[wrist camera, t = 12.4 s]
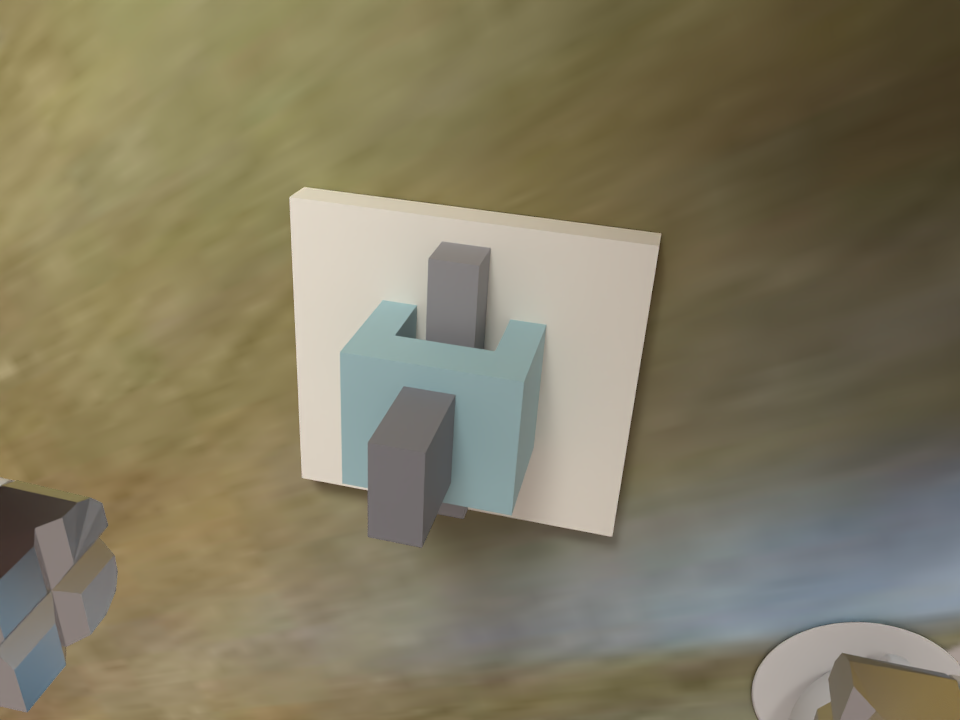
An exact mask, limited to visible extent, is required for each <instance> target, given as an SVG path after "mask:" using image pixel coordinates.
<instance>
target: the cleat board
mask: <svg viewBox="0 0 960 720" xmlns="http://www.w3.org/2000/svg"><path fill="white" fill-rule="evenodd" d="M289 198H290V221H291V243H292V266H293V288H294V310H295V333H296V355H297V378H298V400H299V422H300V445H301V467H302V478H306V479H311V480H316V481H321V482H327V483H332V484H337V485H342V486H348V487H353V488H358V489H363V490H368V488H364V487H359V486H353V485H348V484H343V483H342V442H341V388H340V351H341V350H342V349H343V348H344V346H345V345H346V344H347V343H348V342H349V340H350V339H351V338H352V337H353V336H354V334H355V333H356V332H357V331H358V329H359V328H360V327H361V326H362V325H363V323H364V322H365V321H366V320H367V319H368V317H369V316H370V315H371V314H372V313H373V311H374V310H375V309H376V308H377V307H378V305H379V304H380V303H381V302H382V300H385V301H392V302H398V303H405V304H412V305H417V322H416V339H420V340H427V341H433V342H439V343H446V344H452V345H458V346H465V347H471V348H477V349H484V350H490V351H495V350H496V348H497V346H498V344H499V342H500V340H501V338H502V336H503V334H504V332H505V330H506V327H507V325H508V323H509V321H510V319H511V320H518V321H524V322H531V323H538V324H544V325H546V333H545V343H544V353H543V362H542V372H541V382H540V391H539V401H538V411H537V420H536V430H535V440H534V448H533V451H532V454H531V457H530V460H529V464H528V467H527V470H526V473H525V476H524V479H523V482H522V485H521V488H520V491H519V494H518V497H517V501H516V504H515V507H514V510H513V513H512V516H511V515H506V514H501V513H495V512H490V511H485V510H480V509H474V508H469V507H464V506H459V505H453V504H448V503H443V502H442V504H441V506H440V509H439V511H438V513H437V514H440V515H445V516H450V517H455V518H461V519H464V517H465V515H466V512H467V510H474V511H479V512H484V513H489V514H495V515H500V516H505V517H510V518H516V519H521V520H526V521H531V522H537V523H542V524H547V525H552V526H558V527H563V528H568V529H574V530H579V531H584V532H589V533H595V534H600V535H605V536H610V537H612V535H613V529H614V523H615V516H616V510H617V504H618V498H619V492H620V486H621V480H622V473H623V467H624V461H625V455H626V449H627V443H628V436H629V430H630V424H631V418H632V412H633V406H634V399H635V393H636V387H637V381H638V375H639V369H640V363H641V356H642V350H643V344H644V338H645V332H646V326H647V319H648V313H649V307H650V301H651V295H652V289H653V282H654V276H655V270H656V264H657V258H658V252H659V245H660V239H661V233H654V232H647V231H639V230H631V229H624V228H616V227H608V226H601V225H593V224H585V223H577V222H570V221H562V220H554V219H547V218H539V217H531V216H524V215H516V214H508V213H500V212H493V211H485V210H477V209H470V208H462V207H454V206H446V205H439V204H431V203H423V202H416V201H408V200H400V199H393V198H385V197H377V196H369V195H362V194H354V193H346V192H339V191H331V190H323V189H315V188H308V187H303V188H302V189H300V190H299V191H298V192H296V193H295V194H293V195H292V196H290V197H289Z"/></svg>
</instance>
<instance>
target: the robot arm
mask: <svg viewBox="0 0 960 720" xmlns="http://www.w3.org/2000/svg"><path fill="white" fill-rule="evenodd" d="M107 526H108V523H107V519H106V516H105V512H104V508H103V504H102V503H101V502H99V501H97V500H94V499H92V498H90V497H86V496H81V495H77V494H73V493H69V492H64V491H60V490H56V489H52V488H47V487H43V486H39V485H35V484H30V483H26V482H22V481H18V480H17V481H14V480H10V479H6V478H1V477H0V706H1V707H5V708H10V709H14V710H19V711H23V712H28V711H29V710H30V709H31V707H32V706H33V705H34V704H35V702H36V701H37V700H38V699H39V698H40V696H41V695H42V694H43V693H44V691H45V690H46V689H47V688H48V687H49V685H50V684H51V683H52V682H53V680H54V679H55V678H56V677H57V676H58V674H59V673H60V672H61V671H62V669H63V668H64V667H65V666H66V647H67V646H69V645H71V644H73V643H75V642H77V641H79V640H81V639H83V638H85V637H87V636H89V635H91V634H92V632H93V631H94V630H95V628H96V627H97V626H98V625H99V623H100V622H101V621H102V619H103V618H104V617H105V616H106V614H107V611H108V609H109V606H110V604H111V601H112V599H113V596H114V594H115V592H116V584H117V572H118V571H117V566H116V561H115V556H114V554H113V553H112V552H111V550H110V549H109V548H108V547H107V546H106V545H105V543H104V542H103V541H102V540H101V539H100V538H99V537H100V536H101V535H102V533H103V532H104V531H105V529H106V528H107ZM828 681H829V690H830V698H831V702H829V703H827V704H826V705H824V706H822V707H820V708H818V709H817V711H816V714H815V717H814V720H960V676H957V675H952V674H951V675H947V674H945V673H941V672H936V671H931V670H926V669H921V668H916V667H911V666H906V665H901V664H896V663H891V662H886V661H881V660H875V659H870V658H865V657H860V656H855V655H850V654H845V653H841V655H840V656H839V657H838V658H837V659H836V661H835V662H834V665H833V668H832V670H831V673H830V675H829V678H828Z"/></svg>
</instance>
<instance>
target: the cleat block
mask: <svg viewBox="0 0 960 720" xmlns="http://www.w3.org/2000/svg"><path fill="white" fill-rule="evenodd" d="M416 322H417V305H412V304H405V303H398V302H392V301H385V300H382V302H381V303H380V304H379V305H378V307H377V308H376V309H375V310H374V311H373V313H372V314H371V315H370V316H369V317H368V319H367V320H366V321H365V322H364V323H363V325H362V326H361V327H360V328H359V329H358V331H357V332H356V333H355V334H354V336H353V337H352V338H351V339H350V340H349V342H348V343H347V344H346V345H345V346H344V348H343V349H342V350H341V351H340V388H341V442H342V483H343V484H348V485H353V486H359V487H364V488H368V537H371V538H376V539H381V540H386V541H391V542H396V543H401V544H406V545H411V546H416V547H421V548H422V547H423V544H424V542H425V540H426V538H427V535H428V533H429V531H430V529H431V526H432V524H433V522H434V520H435V518H436V515H437V513H438V511H439V509H440V506H441V504H442V502H443V503H448V504H453V505H459V506H464V507H469V508H474V509H480V510H485V511H490V512H495V513H501V514H506V515H511V516H512V513H513V510H514V507H515V504H516V501H517V497H518V494H519V491H520V488H521V485H522V482H523V479H524V476H525V473H526V470H527V467H528V464H529V460H530V457H531V454H532V451H533V448H534V440H535V430H536V420H537V411H538V401H539V391H540V382H541V372H542V362H543V353H544V343H545V333H546V325H544V324H538V323H531V322H524V321H518V320H511V319H510V321H509V323H508V325H507V327H506V330H505V332H504V334H503V336H502V338H501V340H500V342H499V344H498V346H497V348H496V350H495V351H490V350H484V349H477V348H471V347H465V346H458V345H452V344H446V343H439V342H433V341H427V340H420V339H416Z"/></svg>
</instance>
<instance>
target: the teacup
mask: <svg viewBox="0 0 960 720" xmlns="http://www.w3.org/2000/svg"><path fill="white" fill-rule="evenodd" d="M841 653H845V654H850V655H855V656H860V657H865V658H870V659H875V660H881V661H886V662H891V663H896V664H901V665H906V666H911V667H916V668H921V669H926V670H931V671H936V672H941V673H945V674H947V675H951V674H952V675H957V676H960V664H959V663H958V662H957V661H956V660H955V659H954V658H953V657H952V656H951V655H950V654H949V653H948V652H947V651H945V650H944V649H943V648H942V647H940V646H939V645H937V644H935V643H934V642H932V641H930V640H929V639H927V638H925V637H923V636H920V635H918V634H916V633H913V632H910V631H908V630H905V629H901V628H898V627H894V626H889V625H884V624H877V623H867V622H845V623H835V624H829V625H824V626H819V627H815V628H812V629H809V630H806V631H803V632H801V633H798V634H796V635H794V636H792V637H790V638H789V639H787V640H785V641H784V642H782V643H781V644H779V645H778V646H777V647H775V648H774V649H773V650H772V651H771V652H770V653H769V654H768V655H767V656H766V657H765V658H764V660H763V661H762V663H761V664H760V666H759V667H758V669H757V671H756V674H755V677H754V680H753V684H752V702H753V707H754V710H755V713H756V716H757V718H758V720H814V717H815V714H816V711H817V709H818V708H820V707H822V706H824V705H826V704H827V703H829V702H831V698H830V690H829V681H828V678H829V675H830V673H831V670H832V668H833V665H834V662H835V661H836V659H837V658H838V657H839V656H840V655H841Z"/></svg>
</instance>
